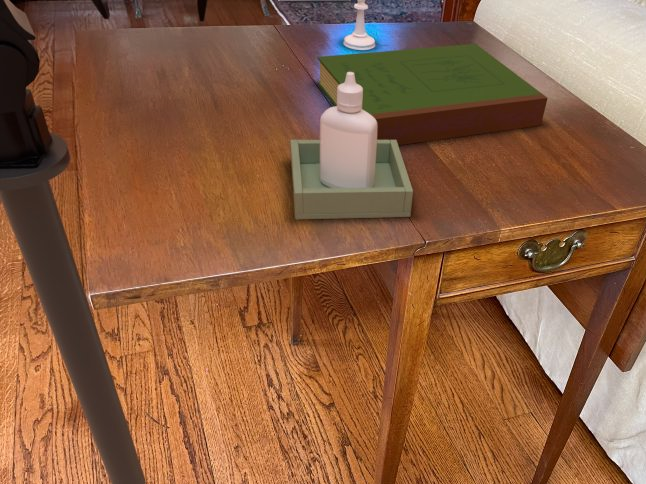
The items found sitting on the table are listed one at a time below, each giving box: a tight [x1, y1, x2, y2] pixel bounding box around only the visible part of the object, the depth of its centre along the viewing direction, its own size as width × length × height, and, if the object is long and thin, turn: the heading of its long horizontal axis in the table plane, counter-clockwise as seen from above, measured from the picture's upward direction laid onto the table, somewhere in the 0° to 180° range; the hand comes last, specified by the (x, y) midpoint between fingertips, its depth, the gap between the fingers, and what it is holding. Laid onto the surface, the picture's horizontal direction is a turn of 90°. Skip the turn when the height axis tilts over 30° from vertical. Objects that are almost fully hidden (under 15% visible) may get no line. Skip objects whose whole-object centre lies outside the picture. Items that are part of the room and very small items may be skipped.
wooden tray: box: [290, 139, 414, 221], centre depth 67 cm, size 12×11×3 cm
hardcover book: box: [317, 43, 549, 146], centre depth 84 cm, size 25×19×4 cm
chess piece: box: [343, 0, 376, 51], centre depth 96 cm, size 5×5×10 cm
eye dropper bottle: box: [319, 72, 378, 188], centre depth 63 cm, size 4×6×12 cm
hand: (155, 19), depth 64 cm, fingers open, 9 cm apart
